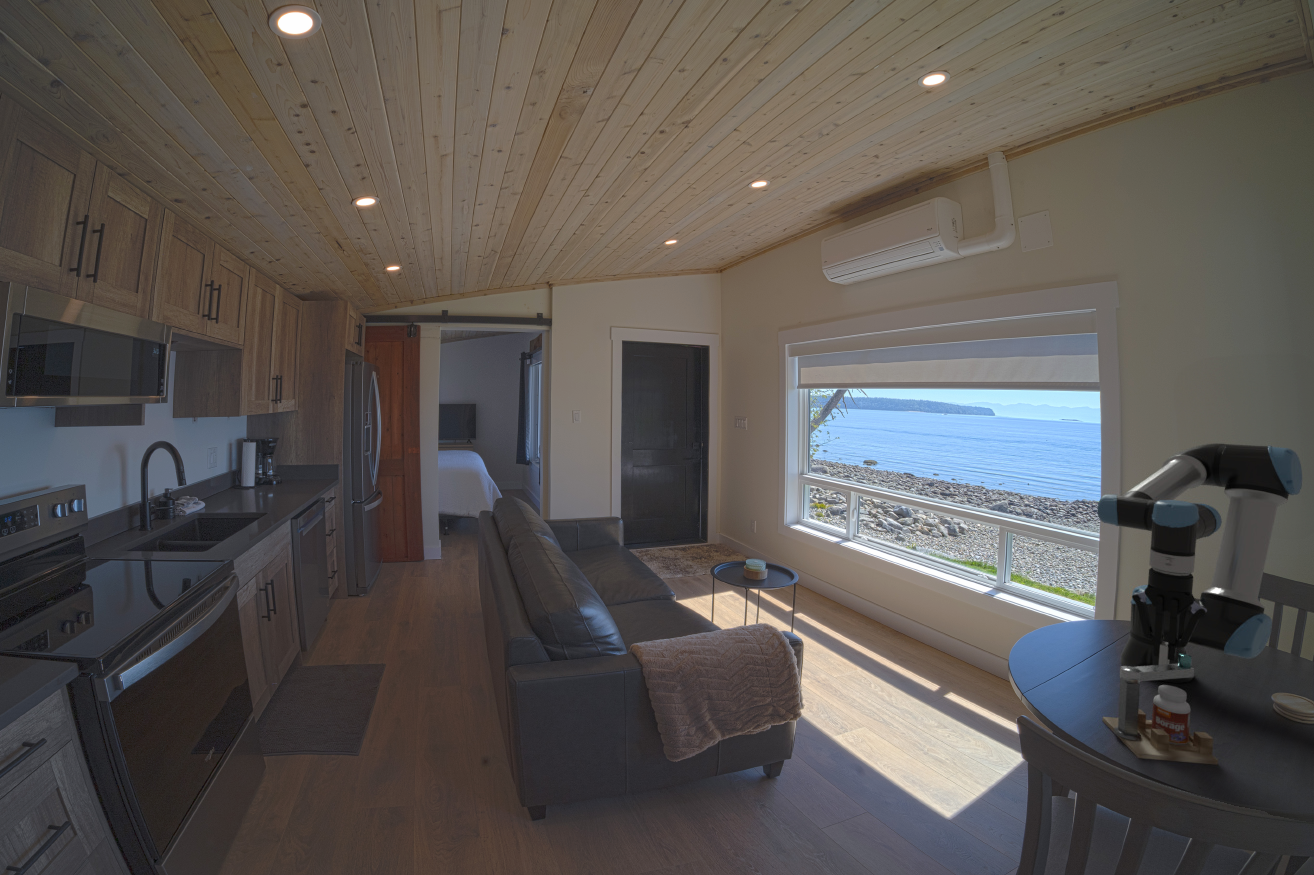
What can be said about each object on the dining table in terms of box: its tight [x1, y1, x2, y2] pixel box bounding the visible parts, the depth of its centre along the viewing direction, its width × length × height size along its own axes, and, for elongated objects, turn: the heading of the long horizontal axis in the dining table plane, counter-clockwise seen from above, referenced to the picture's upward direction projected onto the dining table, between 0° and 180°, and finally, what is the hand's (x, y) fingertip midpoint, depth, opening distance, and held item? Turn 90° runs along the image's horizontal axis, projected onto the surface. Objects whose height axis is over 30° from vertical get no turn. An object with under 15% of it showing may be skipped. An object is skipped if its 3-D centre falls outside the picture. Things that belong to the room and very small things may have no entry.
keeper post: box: [1113, 677, 1141, 741], centre depth 132 cm, size 5×5×12 cm
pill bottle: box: [1151, 684, 1191, 745], centre depth 130 cm, size 6×6×11 cm
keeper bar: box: [1119, 653, 1195, 684], centre depth 131 cm, size 16×4×4 cm, turn 95°
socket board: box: [1102, 708, 1219, 765], centre depth 131 cm, size 15×14×4 cm
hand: (1163, 671), depth 135 cm, fingers closed
